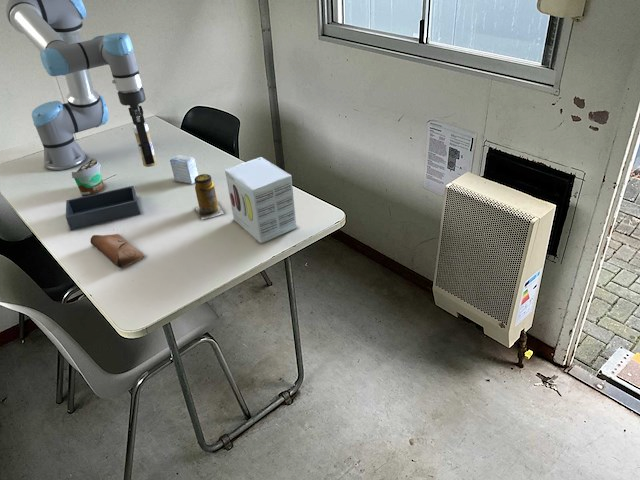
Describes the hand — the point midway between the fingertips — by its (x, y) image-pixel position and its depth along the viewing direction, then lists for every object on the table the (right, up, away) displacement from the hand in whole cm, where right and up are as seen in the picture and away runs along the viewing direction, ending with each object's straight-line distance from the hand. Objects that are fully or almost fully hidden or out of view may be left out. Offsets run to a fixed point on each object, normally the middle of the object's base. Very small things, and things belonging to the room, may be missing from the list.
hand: (149, 160), depth 165 cm
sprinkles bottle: (0, -1, +1) cm, 2 cm away
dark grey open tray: (-16, -17, +4) cm, 24 cm away
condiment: (+19, -17, +1) cm, 26 cm away
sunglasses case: (-4, -30, -15) cm, 34 cm away
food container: (-25, -8, +18) cm, 32 cm away
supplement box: (+38, -21, -8) cm, 44 cm away
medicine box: (+7, -4, +20) cm, 22 cm away
